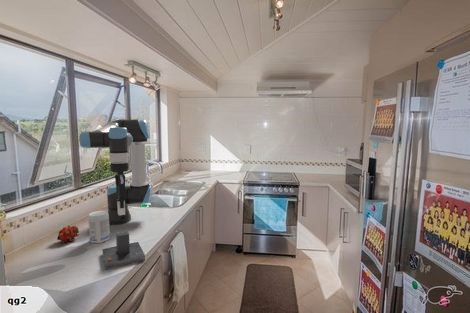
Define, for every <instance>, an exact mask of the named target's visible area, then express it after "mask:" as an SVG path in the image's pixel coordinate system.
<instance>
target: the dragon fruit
mask: <svg viewBox="0 0 470 313" xmlns="http://www.w3.org/2000/svg"><path fill="white" fill-rule="evenodd" d="M79 234H80V231H79V227H78V226H76V225H72V226H71V225H67V227H66V226H65V227H63V228H62V229H60V230H59V231H58V235H57V238H56V240H58V241H59V242H60V243H61V244H62V243H66V242H68V241H70V242H72V241H74V239H75V238H77V237H79Z"/></svg>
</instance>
